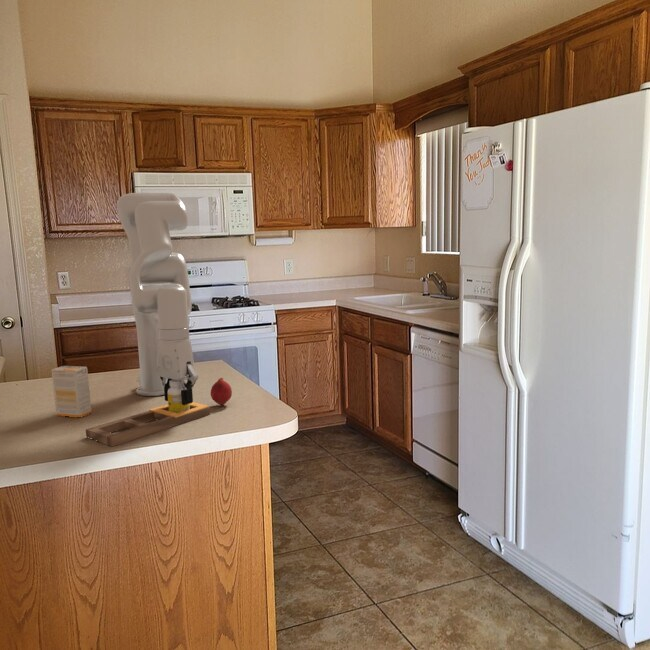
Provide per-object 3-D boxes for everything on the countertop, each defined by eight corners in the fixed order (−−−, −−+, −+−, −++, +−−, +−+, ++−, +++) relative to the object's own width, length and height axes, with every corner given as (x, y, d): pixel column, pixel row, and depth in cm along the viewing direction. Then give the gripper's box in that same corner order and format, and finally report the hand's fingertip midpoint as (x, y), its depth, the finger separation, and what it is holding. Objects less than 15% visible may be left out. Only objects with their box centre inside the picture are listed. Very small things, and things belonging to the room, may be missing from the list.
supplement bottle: (170, 413, 161) (168, 377, 159) (191, 412, 161) (189, 377, 160) (167, 419, 156) (165, 382, 154) (188, 418, 156) (186, 382, 154)
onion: (228, 408, 164) (226, 380, 162) (208, 408, 165) (206, 379, 164) (235, 402, 169) (233, 375, 168) (216, 402, 170) (214, 374, 169)
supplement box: (92, 413, 163) (88, 366, 161) (80, 418, 159) (75, 370, 157) (68, 411, 166) (63, 364, 164) (55, 416, 162) (50, 368, 160)
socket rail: (86, 437, 143) (85, 428, 143) (183, 407, 166) (182, 399, 166) (112, 446, 137) (111, 436, 136) (209, 414, 159) (209, 405, 159)
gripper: (141, 333, 157) (146, 400, 160) (184, 339, 147) (188, 410, 149) (165, 329, 163) (169, 393, 166) (207, 335, 153) (211, 403, 155)
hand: (178, 401), depth 158 cm, fingers open, 6 cm apart
